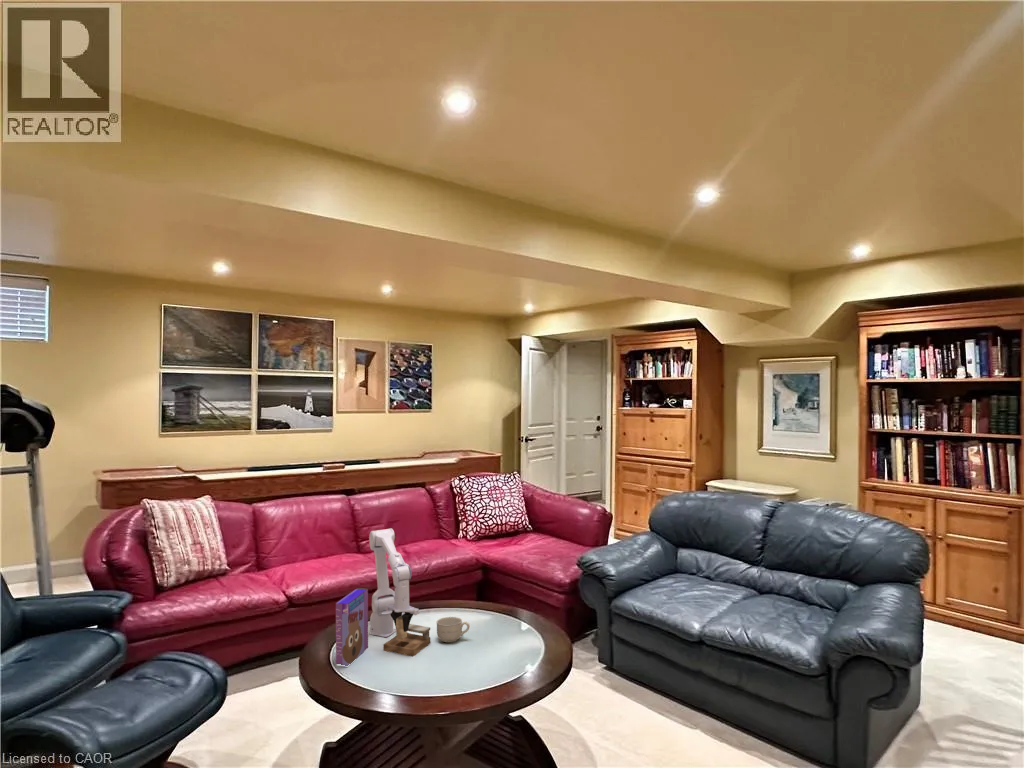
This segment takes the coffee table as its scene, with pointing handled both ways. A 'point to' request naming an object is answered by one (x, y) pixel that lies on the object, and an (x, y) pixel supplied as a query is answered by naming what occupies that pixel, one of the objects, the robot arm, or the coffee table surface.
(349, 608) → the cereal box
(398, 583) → the robot arm
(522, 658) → the coffee table surface
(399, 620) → the peg
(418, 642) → the socket block
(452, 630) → the teacup
